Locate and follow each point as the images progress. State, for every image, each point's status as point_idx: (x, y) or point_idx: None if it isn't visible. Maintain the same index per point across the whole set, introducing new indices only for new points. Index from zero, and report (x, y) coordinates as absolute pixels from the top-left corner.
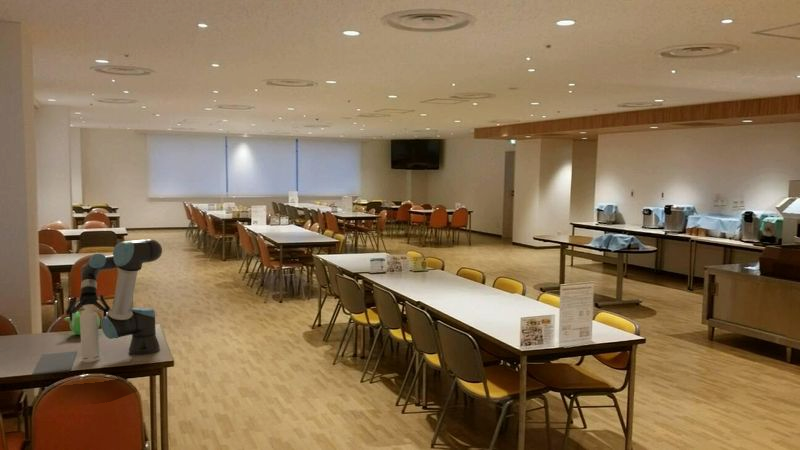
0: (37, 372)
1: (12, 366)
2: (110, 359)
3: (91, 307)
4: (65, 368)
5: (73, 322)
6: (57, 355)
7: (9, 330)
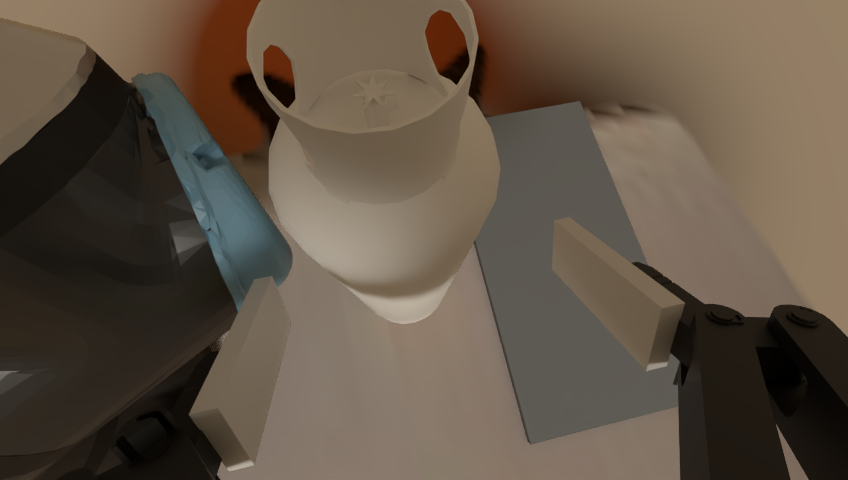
0: (566, 111)
1: (736, 237)
2: (305, 266)
3: (292, 13)
4: None
5: (564, 227)
6: (603, 363)
7: None
